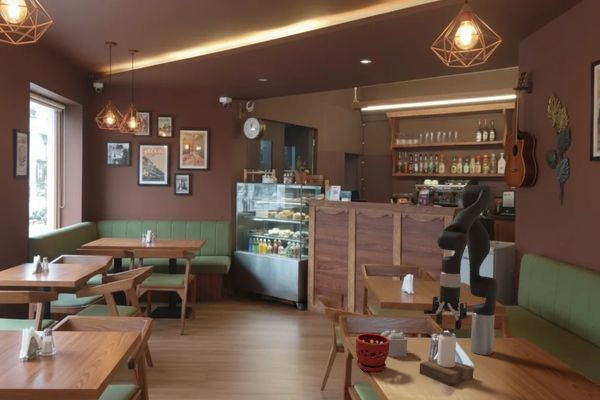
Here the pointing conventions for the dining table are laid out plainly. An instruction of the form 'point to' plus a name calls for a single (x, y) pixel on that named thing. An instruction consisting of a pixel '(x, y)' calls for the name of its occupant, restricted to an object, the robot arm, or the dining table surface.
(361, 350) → the plant pot
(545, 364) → the dining table surface
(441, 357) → the can
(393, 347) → the lumpy-topped squat cylinder
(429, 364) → the walnut stand
